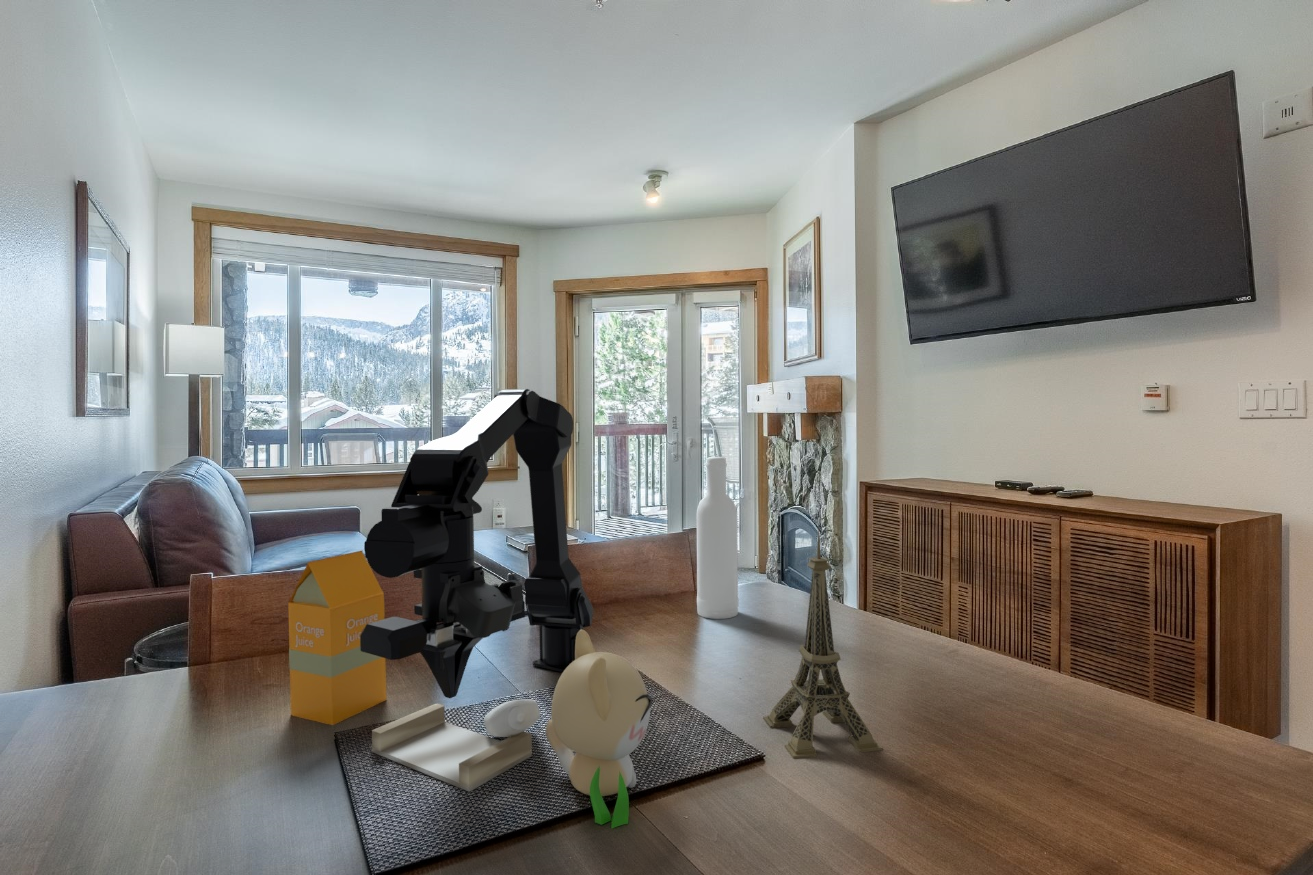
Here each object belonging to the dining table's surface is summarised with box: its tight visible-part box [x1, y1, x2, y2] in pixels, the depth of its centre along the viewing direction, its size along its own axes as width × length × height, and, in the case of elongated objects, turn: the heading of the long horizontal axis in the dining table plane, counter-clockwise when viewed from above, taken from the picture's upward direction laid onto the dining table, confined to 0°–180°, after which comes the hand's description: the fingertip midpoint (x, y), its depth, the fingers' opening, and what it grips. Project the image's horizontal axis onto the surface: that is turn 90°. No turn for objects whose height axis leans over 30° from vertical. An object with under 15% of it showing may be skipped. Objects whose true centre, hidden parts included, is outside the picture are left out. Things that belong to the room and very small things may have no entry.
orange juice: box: [287, 549, 387, 726], centre depth 93 cm, size 8×9×20 cm
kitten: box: [545, 629, 653, 829], centre depth 71 cm, size 15×10×15 cm, turn 17°
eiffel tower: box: [762, 523, 884, 759], centre depth 84 cm, size 11×11×25 cm
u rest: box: [371, 703, 533, 792], centre depth 80 cm, size 16×9×2 cm, turn 56°
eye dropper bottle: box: [483, 698, 541, 738], centre depth 80 cm, size 4×6×12 cm
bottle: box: [696, 456, 739, 620], centre depth 135 cm, size 8×8×30 cm
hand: (450, 696), depth 79 cm, fingers closed
